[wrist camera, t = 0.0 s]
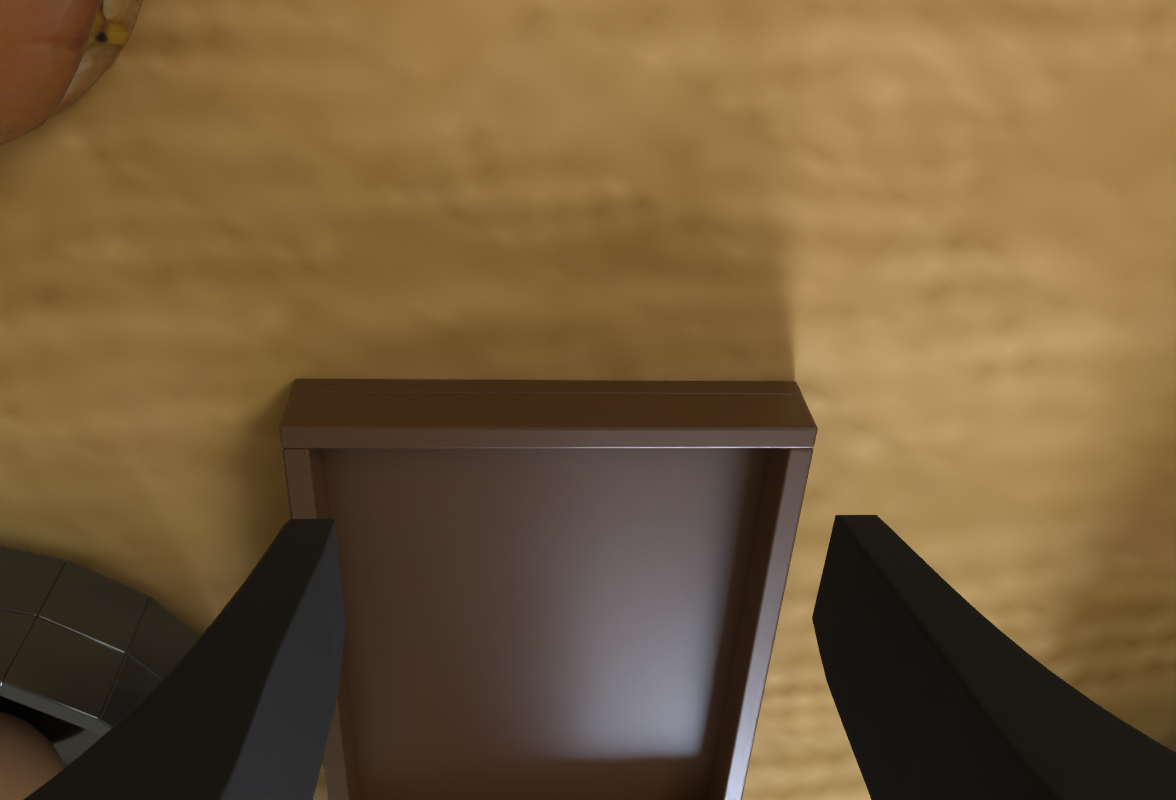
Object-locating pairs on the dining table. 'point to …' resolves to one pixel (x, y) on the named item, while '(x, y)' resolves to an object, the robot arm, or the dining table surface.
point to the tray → (550, 579)
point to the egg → (24, 758)
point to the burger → (55, 55)
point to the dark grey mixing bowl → (78, 648)
